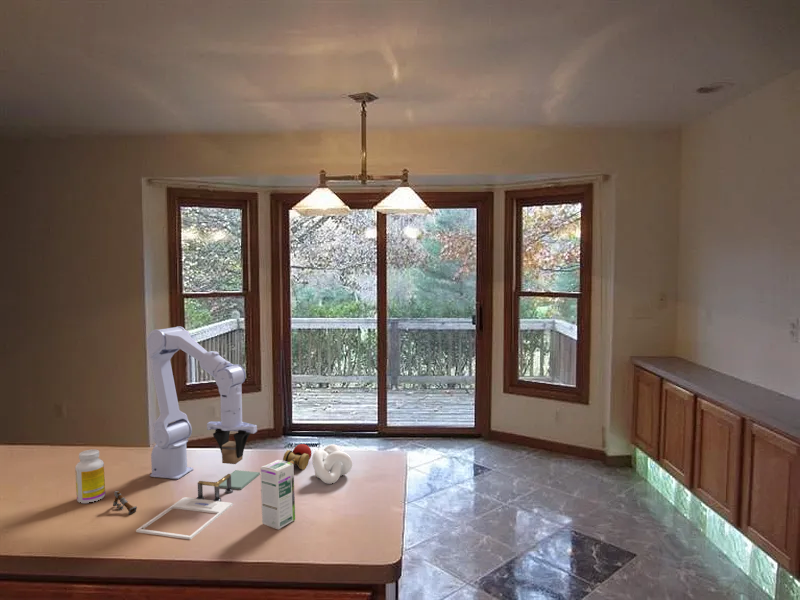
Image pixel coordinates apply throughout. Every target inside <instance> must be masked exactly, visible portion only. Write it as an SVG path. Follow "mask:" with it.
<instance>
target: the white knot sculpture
mask: <svg viewBox="0 0 800 600" xmlns="http://www.w3.org/2000/svg"><path fill="white" fill-rule="evenodd" d="M311 457H312V459H311V460H312V465H313V470H314V475H315V476H316V477H317V478H318V479H320V480H321V481H322V482H323V483H325V484H327V485H331V484H332V483H333V484H335V483H336V482H338V480H340V479H339V478H340V477H342V475H343V476H345V475H347V474H349V473H350V472H351V469H352V468H353V460H352V457H351V456H350V455H349V454H348V453H346V452H345V451H341V448H340V447H339V446H338V445H337V444H333V443H331V444H329V445H328V446H326V447H324V449H320V448H319V449H317V450H315V451H314V452H313V454H312V456H311Z"/></svg>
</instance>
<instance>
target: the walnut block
mask: <svg viewBox="0 0 800 600" xmlns="http://www.w3.org/2000/svg"><path fill="white" fill-rule="evenodd" d="M243 457H244V455H243V456H241V457H240V458H237V454H236V443H235V440H229V442H227V443H225V444H224V445H222V453H221V462H222V464H229V465H236V464H237V463H239V462H241V461H242V460H243Z"/></svg>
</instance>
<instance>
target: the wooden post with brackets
mask: <svg viewBox="0 0 800 600" xmlns="http://www.w3.org/2000/svg"><path fill="white" fill-rule="evenodd" d="M113 493H114V500H113V502H112V506H113V507H116V509H118V511H123V510H124V507H125V509H126V510H127V511H128V515H132V514H133V512H134V513H136V512H137V509H138V507H137V505H136V506H133V505H131V504H130V503H129V501H128V499H126V498H125V497H123V495H122V493H121V492H120V491H116V490H115V491H114V492H113ZM118 501H119V502H120V503H119V502H118ZM120 509H121V510H120ZM122 509H123V510H122Z"/></svg>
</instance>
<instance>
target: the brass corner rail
mask: <svg viewBox="0 0 800 600" xmlns="http://www.w3.org/2000/svg"><path fill="white" fill-rule="evenodd" d="M230 474H231V473H228V474H226V475H224V476H223V477H222V478H221V479H219V480H218V481H214V482H213V481H205V480H198V482H197V497H196V498H195V499H204V500H205V496H204V493H203V492H204V491H203V486H208V487H214V498H213V500H212V501H220V502H222V498H221V497H220V487H219V485H220V484H221V483H223V482H224V481H225V480H227V488H225V492H224V493H226V494H232V493H233V492H234V489H231V475H230Z"/></svg>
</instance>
